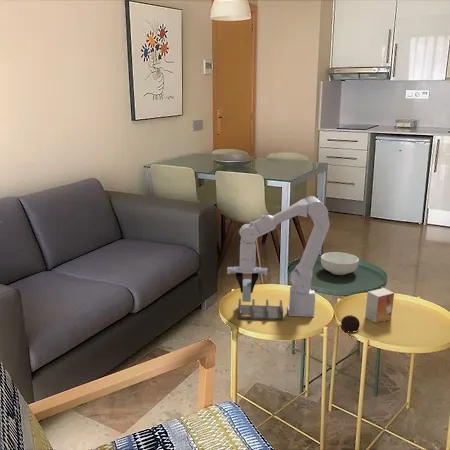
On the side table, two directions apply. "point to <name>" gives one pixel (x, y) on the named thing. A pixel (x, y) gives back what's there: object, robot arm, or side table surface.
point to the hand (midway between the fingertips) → (246, 291)
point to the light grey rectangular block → (246, 290)
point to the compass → (349, 323)
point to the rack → (260, 311)
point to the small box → (379, 305)
